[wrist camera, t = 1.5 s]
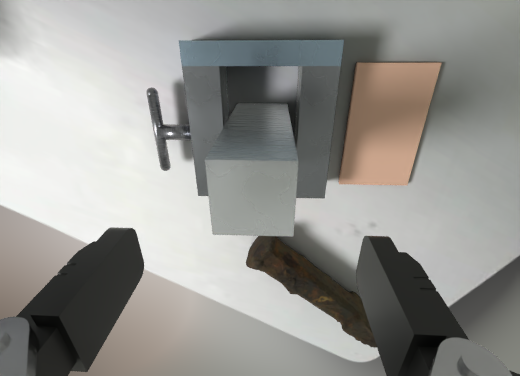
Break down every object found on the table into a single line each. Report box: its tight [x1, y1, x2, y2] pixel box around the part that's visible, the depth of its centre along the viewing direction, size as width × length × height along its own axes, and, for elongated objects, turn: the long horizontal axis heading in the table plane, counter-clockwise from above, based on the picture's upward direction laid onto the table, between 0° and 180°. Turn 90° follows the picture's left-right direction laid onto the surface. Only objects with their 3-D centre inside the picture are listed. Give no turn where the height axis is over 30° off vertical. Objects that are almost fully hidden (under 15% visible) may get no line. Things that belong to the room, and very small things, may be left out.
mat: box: [339, 62, 441, 185], centre depth 23 cm, size 10×6×1 cm, turn 0°
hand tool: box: [246, 236, 377, 347], centre depth 30 cm, size 19×4×5 cm, turn 47°
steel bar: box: [205, 103, 298, 237], centre depth 18 cm, size 4×4×12 cm
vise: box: [147, 40, 344, 198], centre depth 22 cm, size 12×14×3 cm
